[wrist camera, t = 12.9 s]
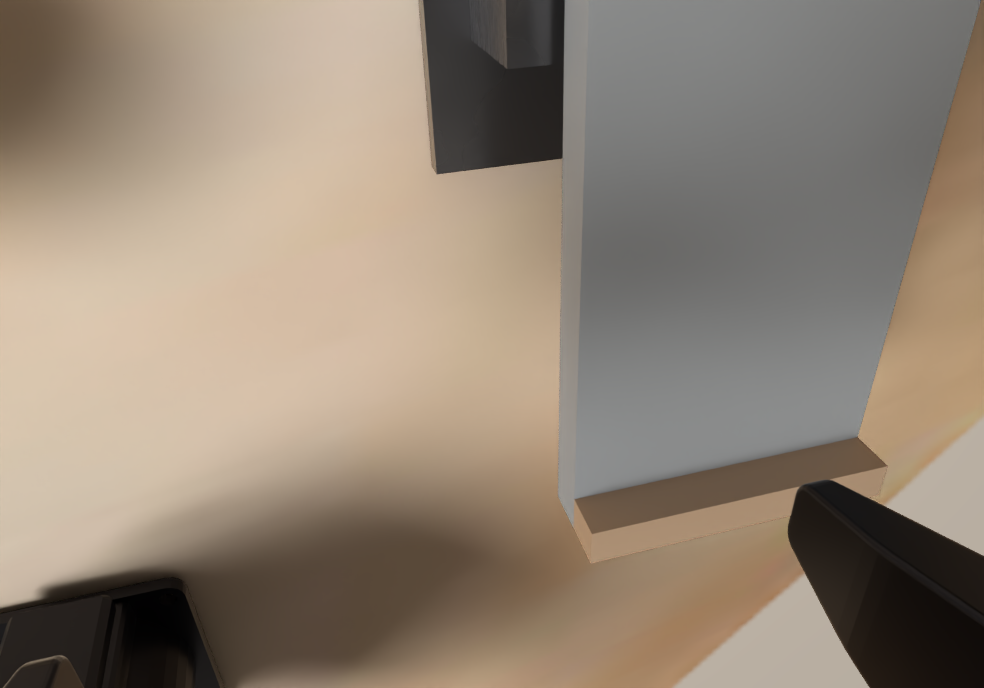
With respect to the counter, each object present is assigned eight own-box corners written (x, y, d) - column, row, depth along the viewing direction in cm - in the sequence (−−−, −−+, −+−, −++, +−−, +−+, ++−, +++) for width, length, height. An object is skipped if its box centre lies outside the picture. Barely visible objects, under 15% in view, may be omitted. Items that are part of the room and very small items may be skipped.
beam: (822, 438, 22) (878, 494, 20) (557, 496, 20) (590, 563, 18) (1146, -848, 10) (1360, -1018, 8) (577, -948, 9) (673, -1185, 7)
